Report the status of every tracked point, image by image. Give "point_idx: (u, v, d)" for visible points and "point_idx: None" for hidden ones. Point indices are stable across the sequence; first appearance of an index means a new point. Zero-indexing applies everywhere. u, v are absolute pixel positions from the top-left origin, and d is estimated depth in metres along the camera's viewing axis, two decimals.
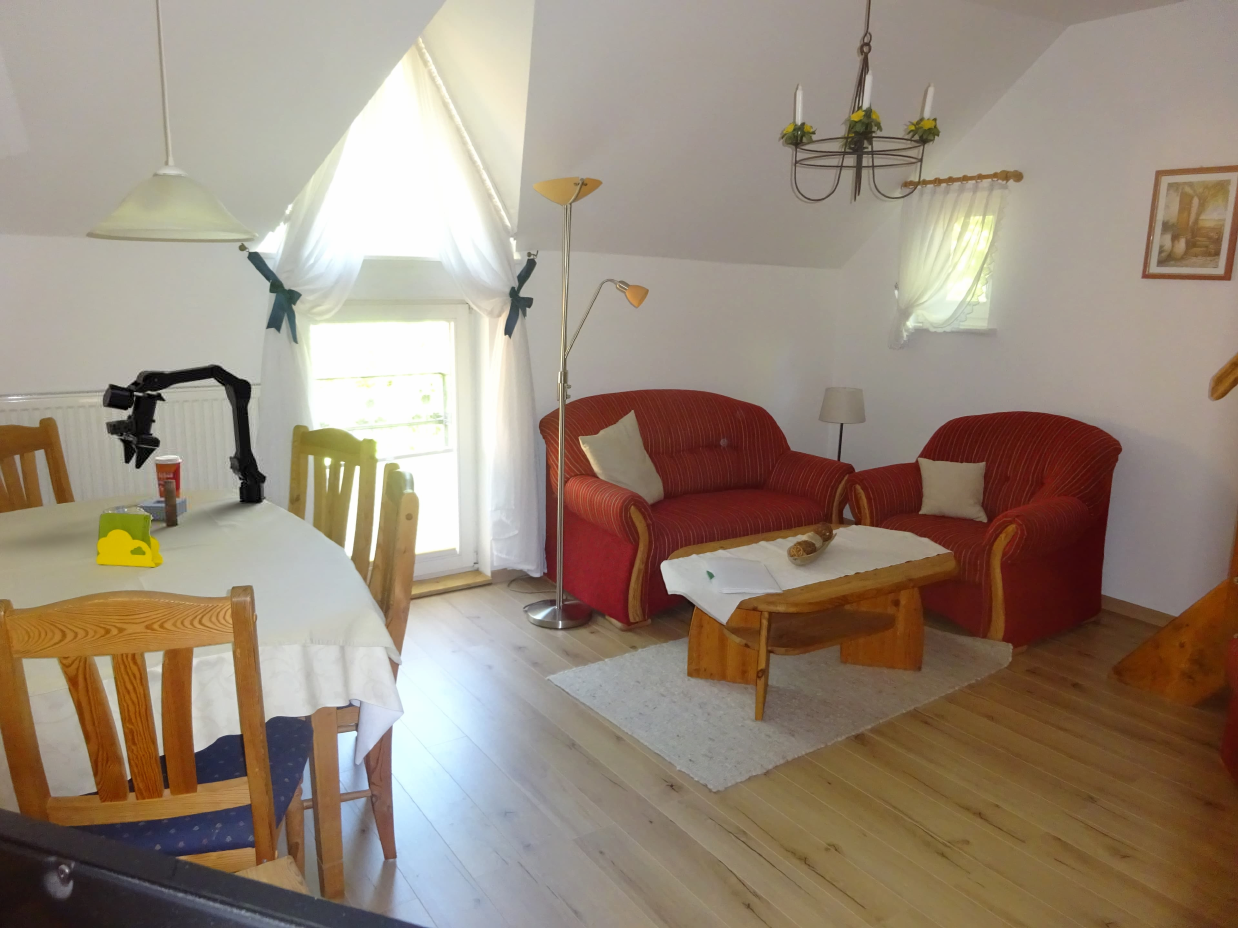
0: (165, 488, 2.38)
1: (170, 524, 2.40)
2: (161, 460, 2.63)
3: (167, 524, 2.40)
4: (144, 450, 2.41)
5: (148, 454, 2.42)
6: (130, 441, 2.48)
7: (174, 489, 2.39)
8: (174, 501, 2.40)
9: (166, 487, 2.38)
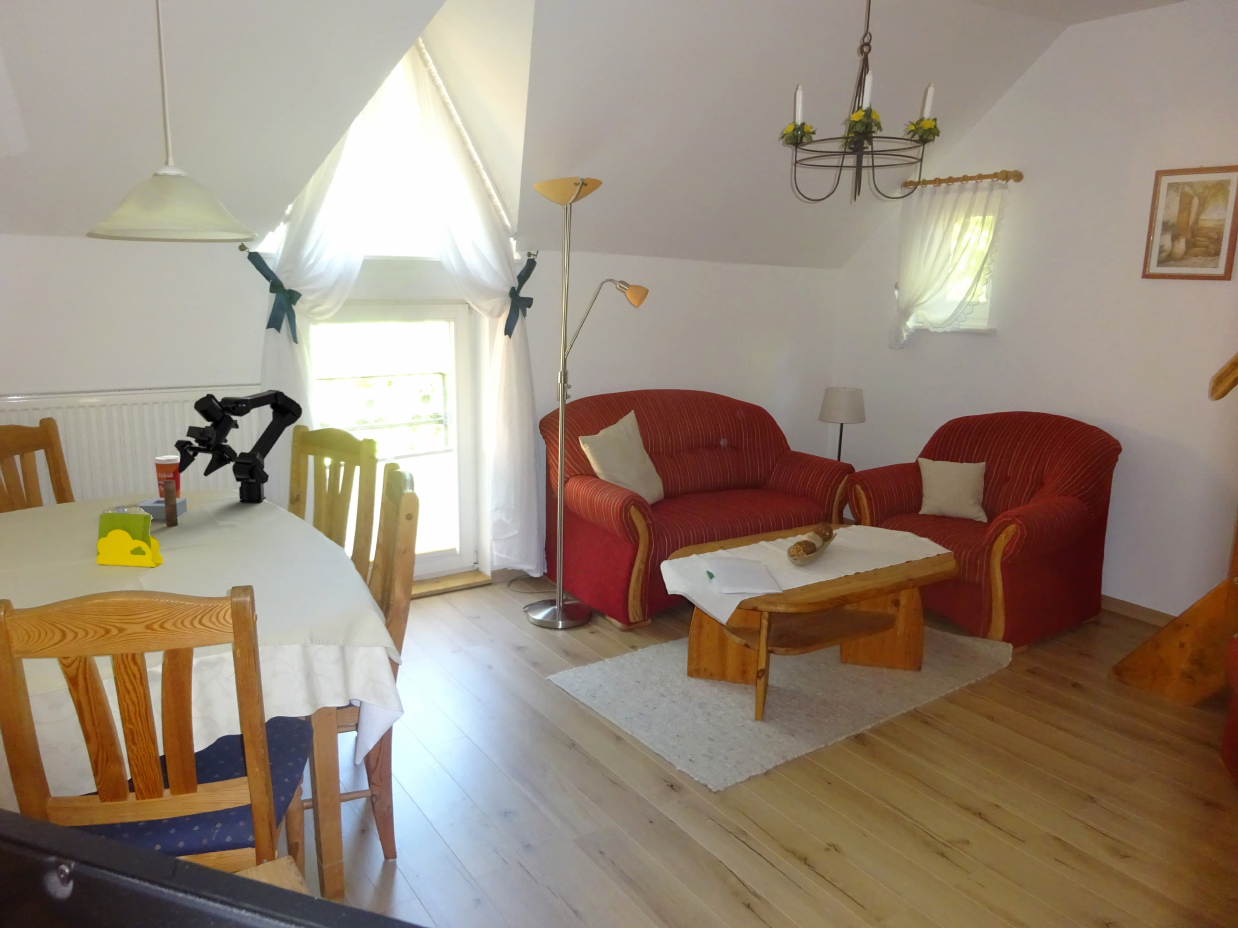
0: (165, 488, 2.38)
1: (170, 524, 2.40)
2: (161, 460, 2.63)
3: (167, 524, 2.40)
4: (218, 461, 2.49)
5: (220, 466, 2.49)
6: (188, 454, 2.52)
7: (174, 489, 2.39)
8: (174, 501, 2.40)
9: (166, 487, 2.38)
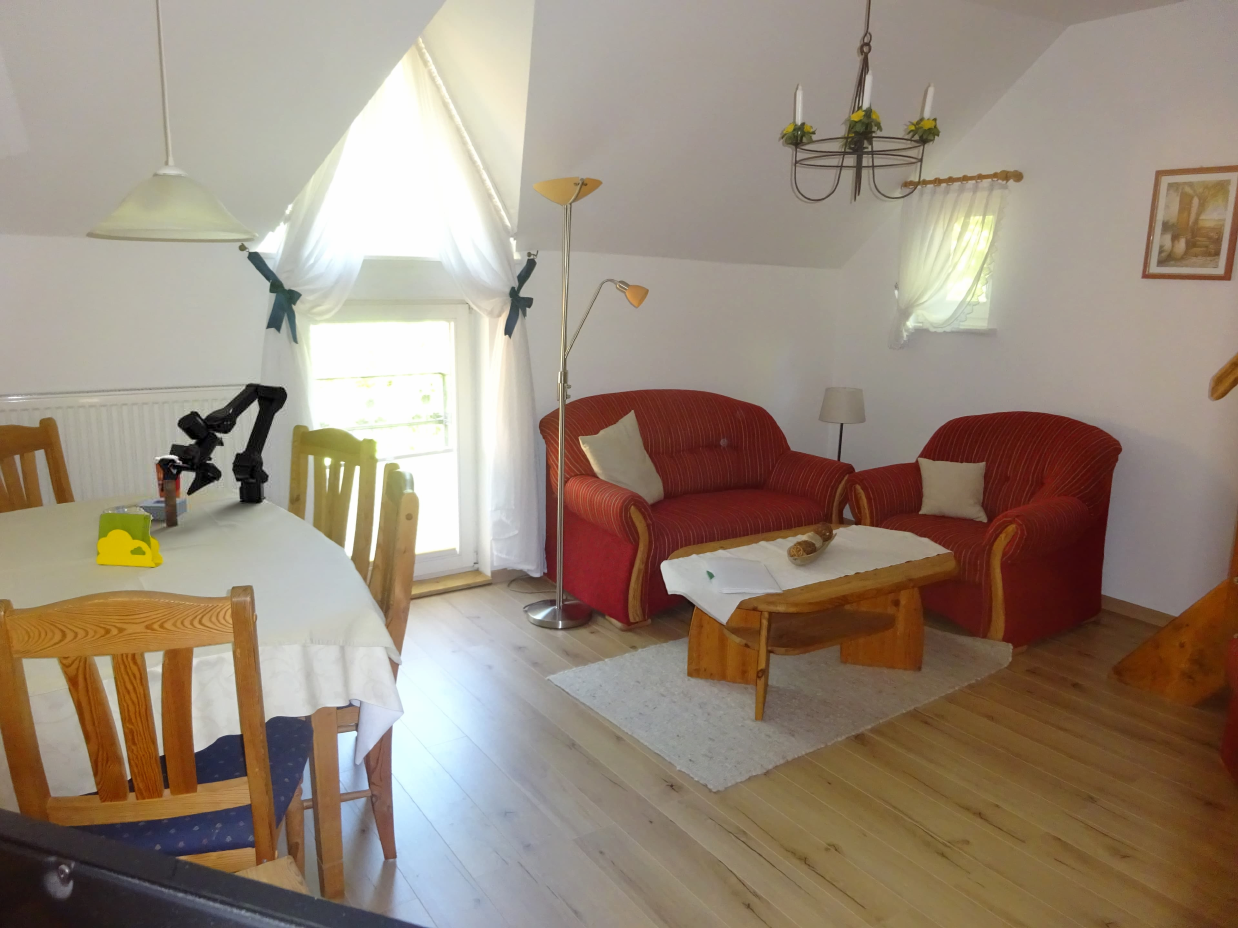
0: (165, 488, 2.38)
1: (170, 524, 2.40)
2: None
3: (167, 524, 2.40)
4: (202, 480, 2.43)
5: (203, 484, 2.44)
6: (172, 472, 2.46)
7: (174, 489, 2.39)
8: (174, 501, 2.40)
9: (166, 487, 2.38)
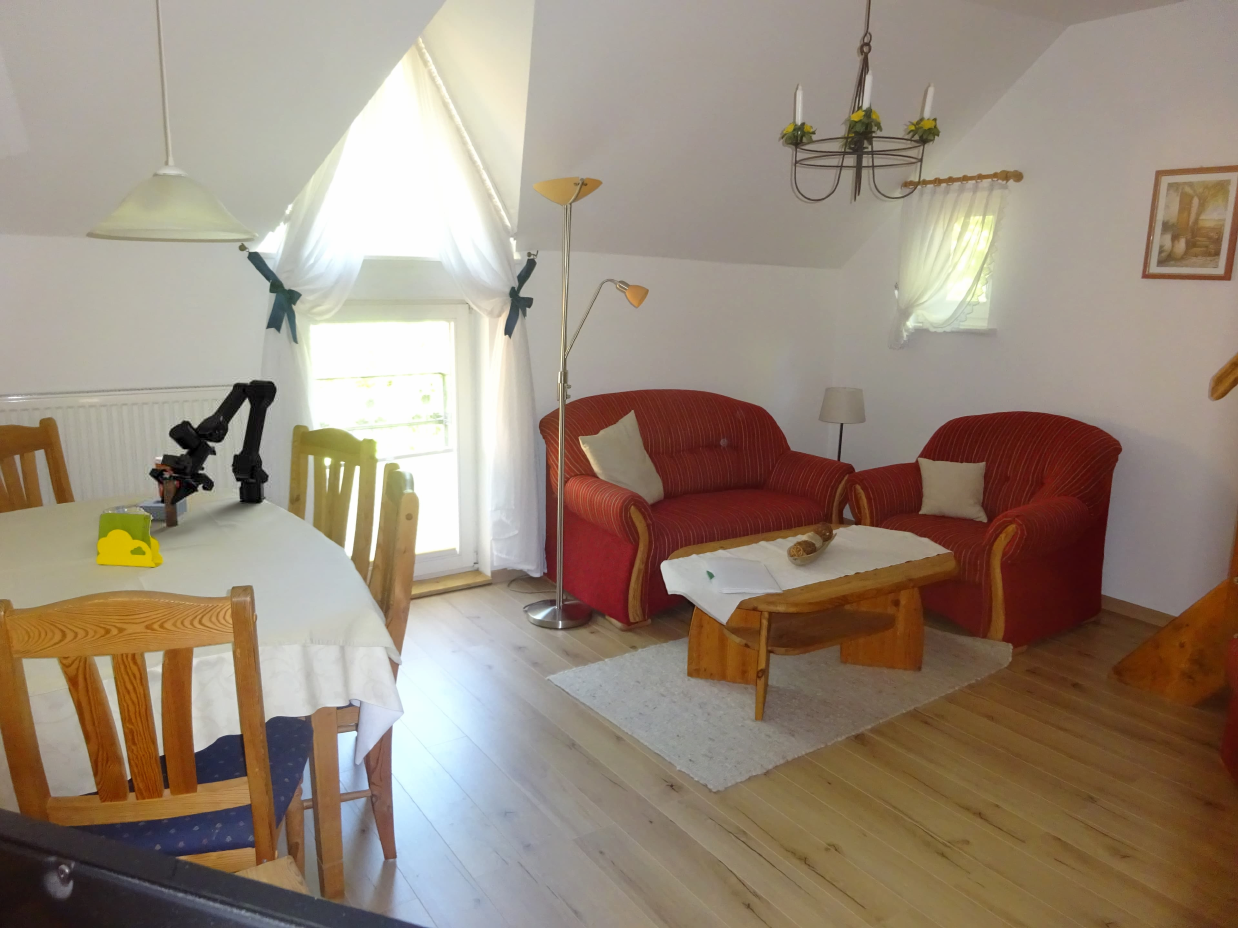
0: (165, 488, 2.38)
1: (170, 524, 2.40)
2: (161, 460, 2.63)
3: (167, 524, 2.40)
4: (185, 489, 2.42)
5: (187, 494, 2.42)
6: None
7: (174, 489, 2.39)
8: None
9: (166, 487, 2.38)
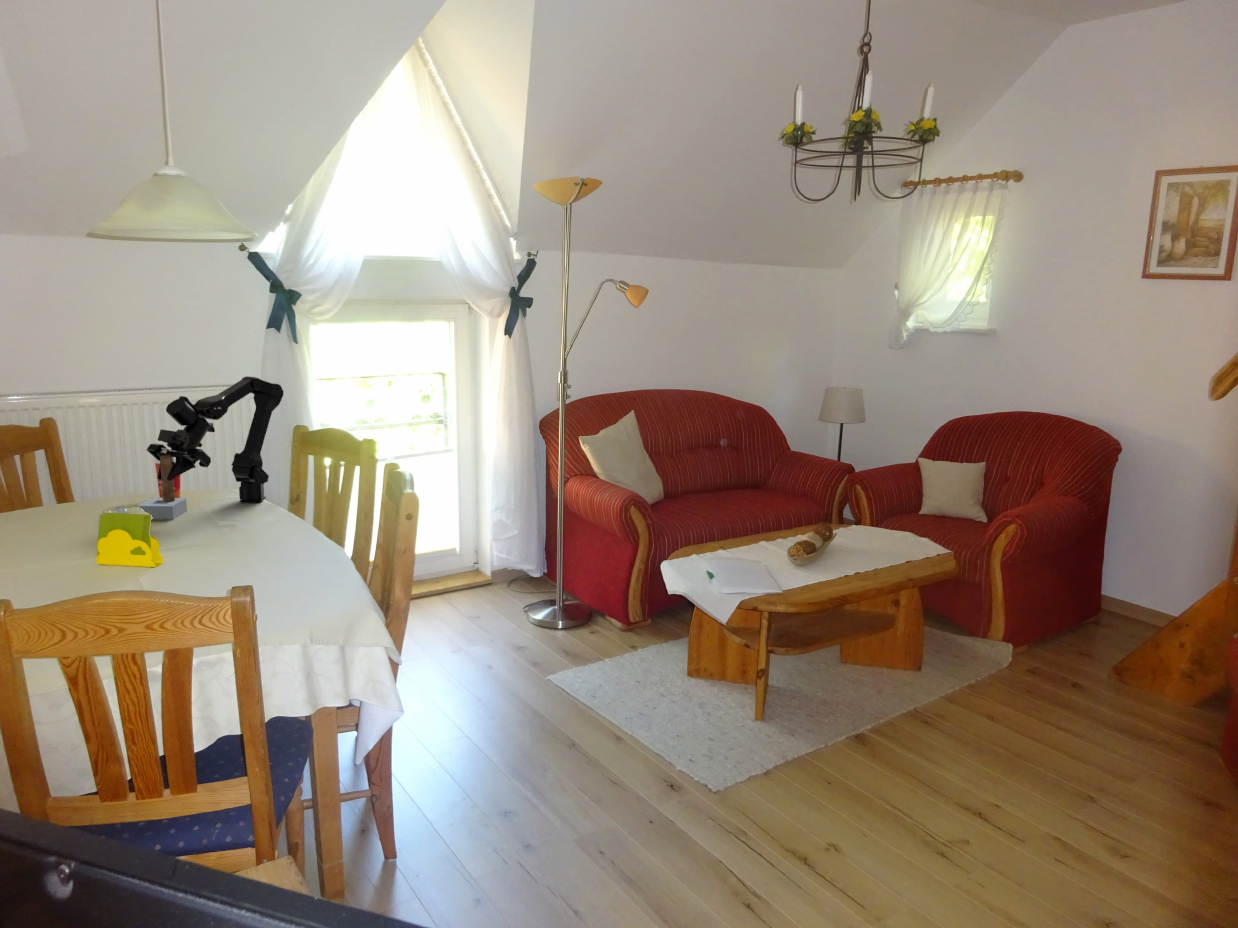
0: (162, 464, 2.38)
1: (167, 500, 2.40)
2: None
3: (164, 500, 2.40)
4: (182, 465, 2.41)
5: (184, 470, 2.41)
6: None
7: (171, 465, 2.39)
8: None
9: (163, 463, 2.37)
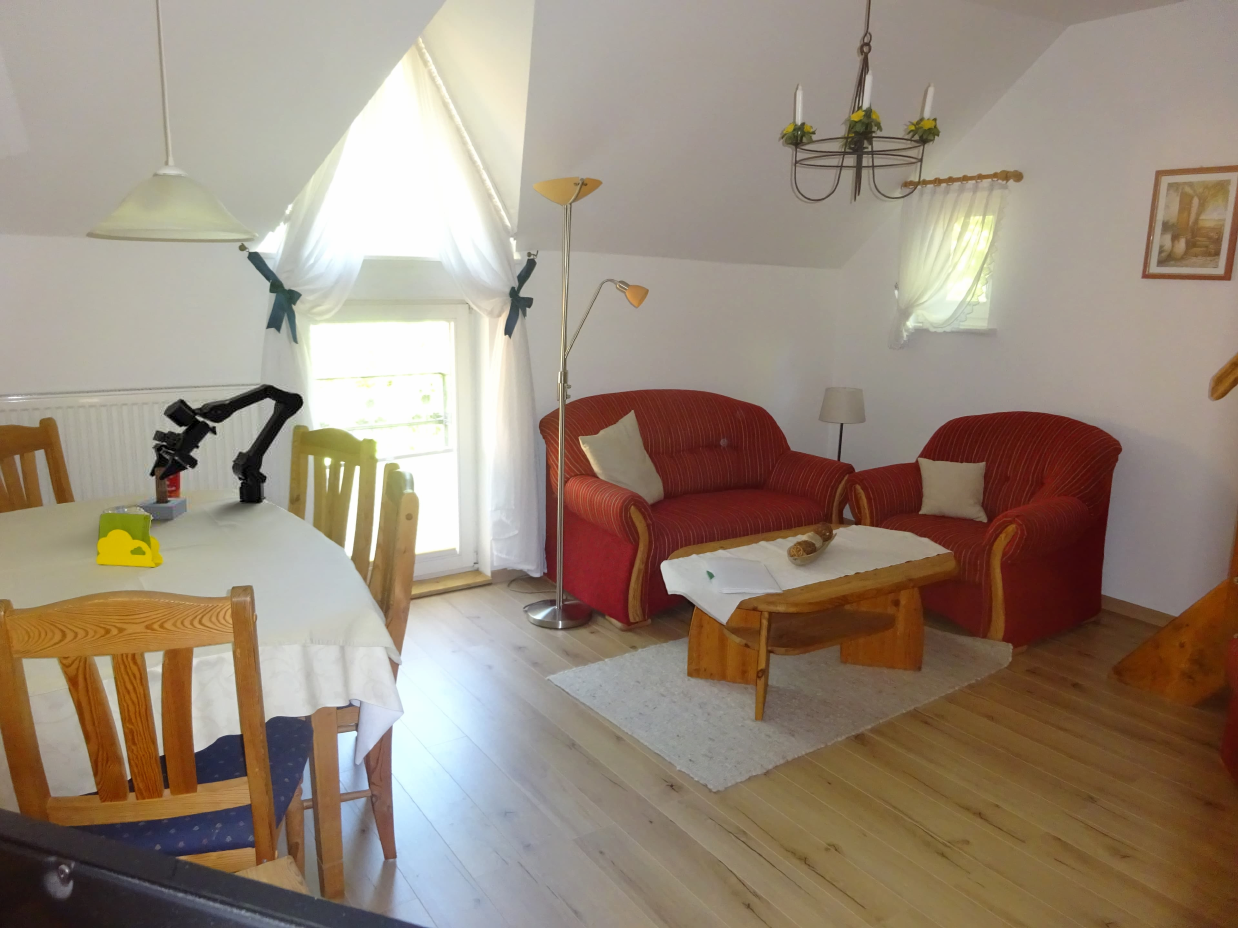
0: (155, 475, 2.49)
1: None
2: None
3: None
4: (176, 466, 2.48)
5: (177, 471, 2.48)
6: (165, 458, 2.53)
7: None
8: (163, 488, 2.50)
9: (156, 474, 2.49)
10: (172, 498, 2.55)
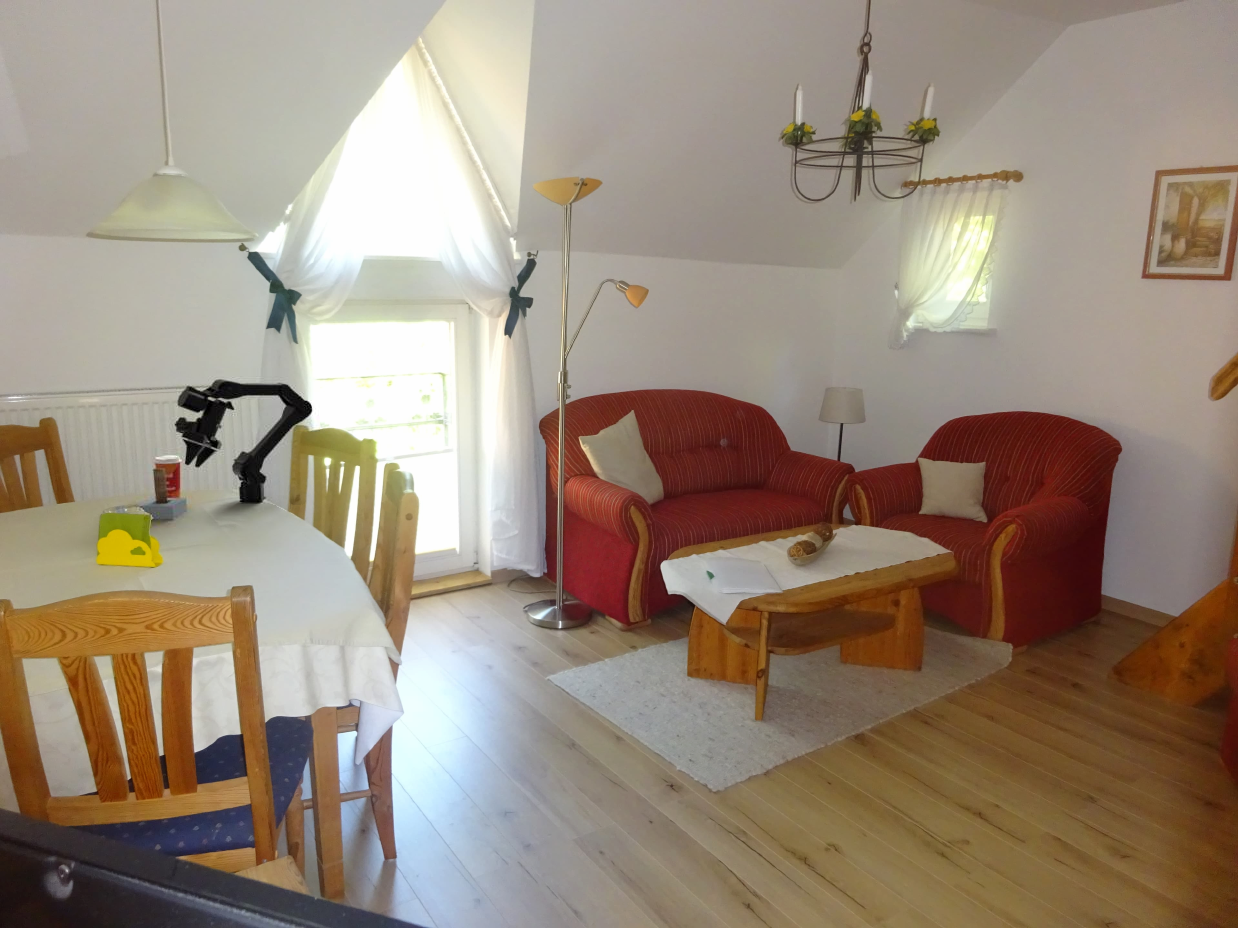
0: (154, 476, 2.48)
1: None
2: (161, 460, 2.63)
3: None
4: (194, 447, 2.52)
5: (196, 451, 2.51)
6: (205, 447, 2.63)
7: (162, 477, 2.48)
8: (162, 489, 2.49)
9: (154, 475, 2.48)
10: (172, 498, 2.55)
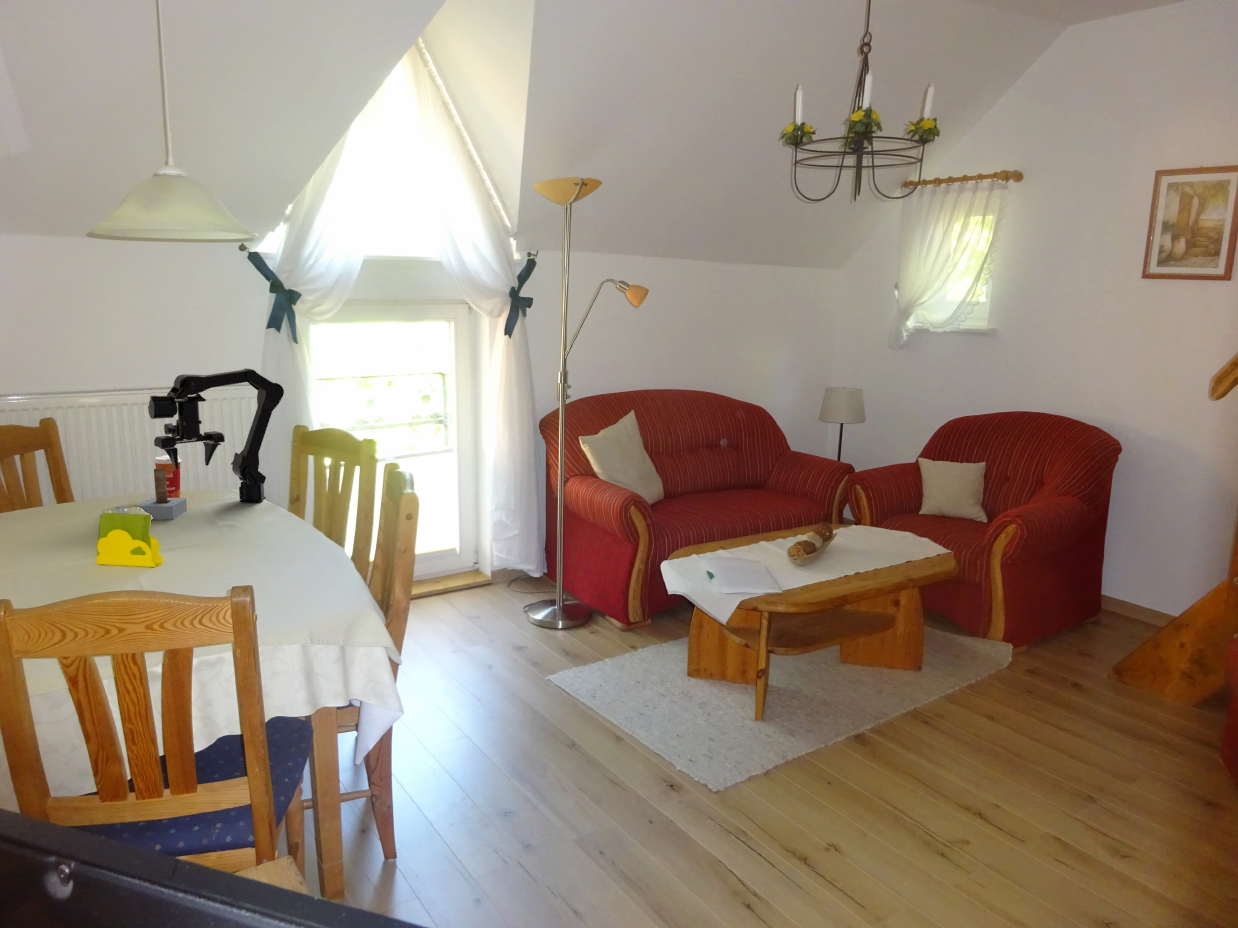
0: (154, 476, 2.48)
1: None
2: (161, 460, 2.63)
3: None
4: None
5: (172, 455, 2.51)
6: (207, 444, 2.60)
7: (163, 477, 2.49)
8: (162, 489, 2.49)
9: (155, 475, 2.48)
10: (172, 498, 2.55)
